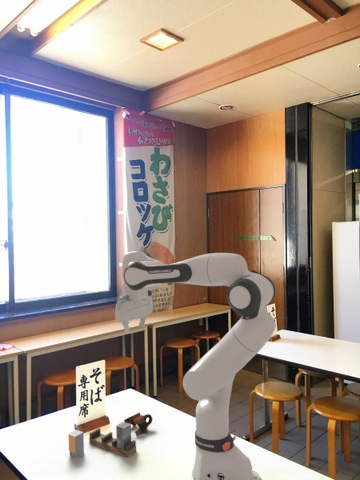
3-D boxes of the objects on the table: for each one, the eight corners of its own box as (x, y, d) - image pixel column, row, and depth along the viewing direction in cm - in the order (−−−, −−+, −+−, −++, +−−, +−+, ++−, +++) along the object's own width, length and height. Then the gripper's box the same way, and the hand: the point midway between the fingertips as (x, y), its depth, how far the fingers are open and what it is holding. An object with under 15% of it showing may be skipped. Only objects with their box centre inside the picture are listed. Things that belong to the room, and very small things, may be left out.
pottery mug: (130, 440, 161) (123, 420, 164) (127, 440, 169) (120, 421, 172) (157, 426, 166) (149, 407, 168) (153, 427, 174) (146, 408, 176)
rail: (136, 451, 152) (135, 424, 152) (127, 457, 148) (126, 430, 148) (98, 437, 163) (97, 413, 163) (89, 443, 159) (88, 417, 159)
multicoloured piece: (75, 458, 148) (75, 436, 148) (68, 455, 150) (67, 434, 150) (84, 453, 151) (83, 432, 151) (76, 450, 153) (76, 429, 153)
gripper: (124, 298, 142) (125, 336, 142) (155, 290, 160) (155, 325, 160) (110, 297, 145) (111, 335, 145) (142, 289, 163) (142, 323, 163)
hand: (134, 329), depth 153 cm, fingers open, 8 cm apart
